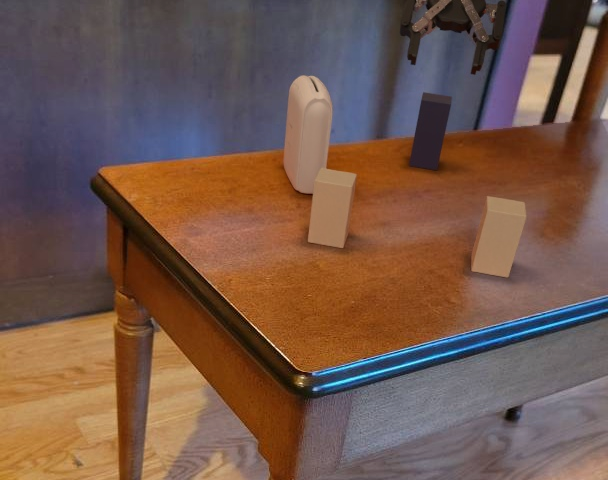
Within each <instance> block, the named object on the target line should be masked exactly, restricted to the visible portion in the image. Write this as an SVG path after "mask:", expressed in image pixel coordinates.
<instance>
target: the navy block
mask: <svg viewBox="0 0 608 480" xmlns="http://www.w3.org/2000/svg"><path fill="white" fill-rule="evenodd" d="M420 100H421V101H420V105H419V110H418V115H417V121H416V126H415V131H414V136H413V142H412V147H411V152H410V153H411V154H410V157H409V162H408V167H413V168H419V169H424V170H425V169H426V170H432V171H438V167H439V163H440V159H441V153H442V149H443V144H444V140H445V137H446V136H445V135H446V131H447V125H448V121H449V117H450V112H451V107H452V101H453V97H452V96H449V95H444V94H438V93H437V94H436V93H431V92H425V91H423V92H422V95H421V98H420Z"/></svg>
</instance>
